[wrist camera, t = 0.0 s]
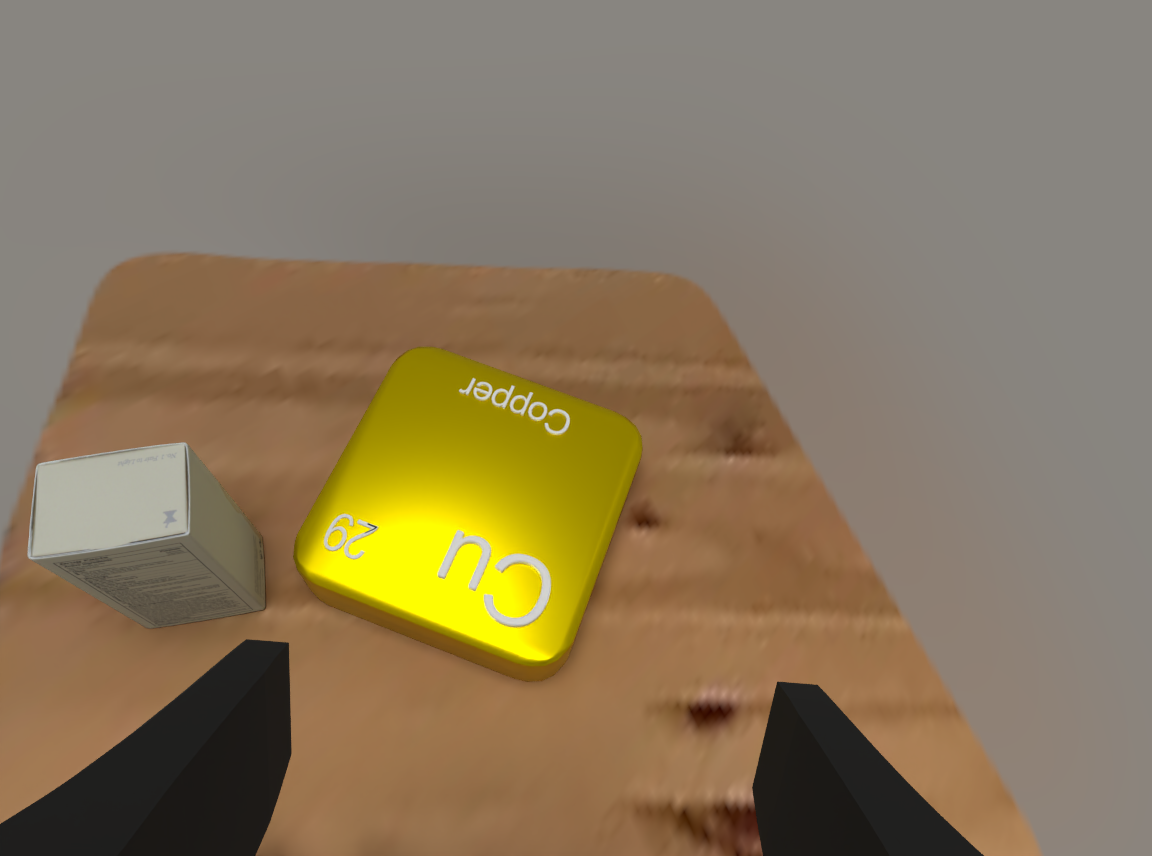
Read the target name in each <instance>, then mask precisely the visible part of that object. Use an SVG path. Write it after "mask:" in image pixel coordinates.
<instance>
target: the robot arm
mask: <svg viewBox="0 0 1152 856" xmlns="http://www.w3.org/2000/svg"><path fill="white" fill-rule="evenodd" d="M290 757H291V716H290V675H289V643H285V642H273V641H260V640H247V639H246V640H245V641H244V642H242V643H241V644H240V645H239V646H237V647H236V648H235V649H234V650H232V651H231V652H230V653H229V654H228V655H226V656H225V657H224V658H223V659H222V660H220V661H219V662H218V663H217V664H216V665H215V666H213V667H212V668H211V669H210V670H209V671H207V672H206V673H205V674H204V675H203V676H202V677H200V678H199V679H198V680H197V681H196V682H194V683H193V684H192V685H191V686H190V687H189V688H187V689H186V690H185V691H184V692H183V693H181V694H180V695H179V696H178V697H177V698H175V699H174V700H173V701H172V702H170V703H169V704H168V705H167V706H165V707H164V708H163V709H162V710H161V711H159V712H158V713H157V714H156V715H154V716H153V717H152V718H151V719H149V720H148V721H147V722H146V723H144V724H143V725H142V726H141V727H139V728H138V729H137V730H136V731H134V732H133V733H132V734H131V735H129V736H128V737H127V738H125V739H124V740H123V741H121V742H120V743H119V744H117V745H116V746H115V747H113V748H112V749H111V750H109V751H108V752H106V753H105V754H104V755H102V756H101V757H100V758H98V759H97V760H96V761H94V762H93V763H91V764H90V765H89V766H87V767H86V768H85V769H83V770H82V771H81V772H79V773H78V774H77V775H75V776H74V777H72V778H71V779H69V780H68V781H67V782H65V783H64V784H62V785H61V786H59V787H58V788H56V789H55V790H53V791H52V792H50V793H49V794H47V795H46V796H44V797H43V798H41V799H40V800H38V801H36V802H35V803H33V804H32V805H30V806H28V807H27V808H25V809H24V810H22V811H20V812H19V813H17V814H16V815H14V816H12V817H11V818H9V819H7V820H6V821H4V822H3V823H1V824H0V856H255V855H256V853H257V850H258V848H259V846H260V844H261V841H262V839H263V837H264V834H265V832H266V830H267V828H268V825H269V823H270V820H271V817H272V814H273V811H274V808H275V805H276V802H277V799H278V796H279V793H280V790H281V786H282V783H283V780H284V777H285V773H286V770H287V767H288V763H289V760H290ZM752 789H753V796H754V803H755V809H756V816H757V823H758V829H759V835H760V841H761V847H762V852H763V856H984V855H983V854H981V853H980V852H979V851H978V850H977V849H976V848H975V847H974V846H973V845H971V844H970V843H969V842H968V841H967V840H966V839H965V838H964V837H963V836H962V835H961V834H960V833H959V832H958V831H957V830H956V829H955V828H953V827H952V826H951V825H950V824H949V823H948V822H947V821H946V820H945V819H944V818H943V817H942V816H941V815H940V814H939V813H938V812H937V811H936V810H935V809H934V808H933V807H932V806H931V805H930V804H929V803H928V802H927V801H926V800H925V799H924V798H923V797H922V796H921V795H920V794H919V793H918V792H917V791H916V790H915V789H914V788H913V787H912V786H911V785H910V784H909V783H908V782H907V781H906V780H905V779H904V778H903V777H902V776H901V775H900V774H899V773H898V772H897V771H896V770H895V769H894V768H893V766H892V765H891V764H890V763H889V762H888V761H887V760H886V759H885V758H884V757H883V756H882V755H881V754H880V753H879V751H878V750H877V749H876V748H875V747H874V746H873V745H872V744H871V743H870V742H869V741H868V739H867V738H866V737H865V736H864V735H863V734H862V733H861V732H860V731H859V730H858V728H857V727H856V726H855V725H854V724H853V723H852V722H851V721H850V720H849V719H848V717H847V716H846V715H845V714H844V713H843V712H842V711H841V710H840V709H839V707H838V706H837V705H836V704H835V703H834V702H833V701H832V700H831V699H830V698H829V696H828V695H827V694H826V693H825V692H824V691H823V690H822V689H821V688H820V687H819V686H818V685H812V684H799V683H787V682H777V685H776V689H775V693H774V698H773V702H772V706H771V710H770V715H769V719H768V723H767V727H766V732H765V736H764V740H763V744H762V749H761V753H760V757H759V761H758V766H757V770H756V774H755V778H754V783H753V787H752Z"/></svg>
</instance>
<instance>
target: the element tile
mask: <svg viewBox="0 0 1152 856" xmlns="http://www.w3.org/2000/svg"><path fill="white" fill-rule="evenodd" d="M642 450H643V448H642V438H641V435H640V433H639V431H638V429H637V427H636V426H635V425H634V424H633V423H632V422H631V421H630V420H628V419H627V418H626V417H624V416H622V415H620V414H619V413H617V412H614V411H612V410H609V409H606V408H603V407H601V406H598V405H595V404H592V403H590V402H587V401H584V400H581V399H579V398H576V397H573V396H570V395H568V394H565V393H562V392H559V391H557V390H554V389H551V388H548V387H546V386H543V385H540V384H537V383H534V382H532V381H529V380H526V379H523V378H521V377H518V376H515V375H512V374H510V373H507V372H504V371H501V370H499V369H496V368H493V367H490V366H488V365H485V364H482V363H479V362H477V361H474V360H471V359H468V358H466V357H463V356H460V355H457V354H455V353H452V352H449V351H446V350H444V349H440V348H435V347H417V348H414V349H411V350H408V351H406V352H405V353H404V354H402V355H401V356H400V357H398V358H397V359H396V361H395V362H394V363H393V364H392V366H391V367H390V369H389V371H388V373H387V375H386V376H385V378H384V380H383V382H382V383H381V385H380V387H379V389H378V391H377V392H376V394H375V396H374V398H373V400H372V401H371V403H370V405H369V407H368V409H367V410H366V412H365V414H364V416H363V418H362V419H361V421H360V423H359V425H358V426H357V428H356V430H355V432H354V434H353V435H352V437H351V439H350V441H349V443H348V444H347V446H346V448H345V450H344V452H343V453H342V455H341V457H340V459H339V460H338V462H337V464H336V466H335V468H334V469H333V471H332V473H331V475H330V477H329V478H328V480H327V482H326V484H325V486H324V487H323V489H322V491H321V493H320V494H319V496H318V498H317V500H316V502H315V503H314V505H313V507H312V509H311V511H310V512H309V514H308V516H307V518H306V520H305V521H304V523H303V525H302V527H301V528H300V530H299V532H298V534H297V537H296V540H295V545H294V555H293V559H294V562H295V565H296V568H297V570H298V572H299V573H300V575H301V576H302V578H303V579H304V581H305V582H306V584H307V585H308V587H309V588H310V590H311V591H312V592H313V593H314V594H315V595H316V596H317V597H318V598H319V599H320V600H321V601H323V602H324V603H326V604H327V605H329V606H332V607H334V608H337V609H339V610H342V611H344V612H347V613H349V614H352V615H354V616H357V617H360V618H362V619H365V620H367V621H370V622H372V623H375V624H377V625H380V626H382V627H385V628H387V629H390V630H392V631H395V632H397V633H400V634H403V635H405V636H408V637H410V638H413V639H415V640H418V641H420V642H423V643H425V644H428V645H430V646H433V647H435V648H438V649H441V650H443V651H446V652H448V653H451V654H453V655H456V656H458V657H461V658H463V659H466V660H468V661H471V662H473V663H476V664H478V665H481V666H484V667H486V668H489V669H491V670H494V671H496V672H499V673H501V674H504V675H506V676H509V677H511V678H514V679H518V680H522V681H527V682H529V681H542V680H545V679H547V678H549V677H551V676H553V675H554V674H555V673H556V672H557V671H558V670H559V669H560V668H561V667H562V666H563V665H564V663H565V662H566V660H567V659H568V656H569V654H570V651H571V648H572V646H573V643H574V640H575V638H576V635H577V632H578V629H579V627H580V624H581V621H582V618H583V616H584V613H585V610H586V607H587V605H588V602H589V599H590V597H591V594H592V591H593V588H594V586H595V583H596V580H597V577H598V575H599V572H600V569H601V566H602V564H603V561H604V558H605V556H606V553H607V550H608V547H609V545H610V542H611V539H612V536H613V534H614V531H615V528H616V525H617V523H618V520H619V517H620V515H621V512H622V509H623V506H624V504H625V501H626V498H627V495H628V493H629V490H630V487H631V484H632V482H633V479H634V476H635V474H636V471H637V468H638V465H639V463H640V460H641V456H642Z"/></svg>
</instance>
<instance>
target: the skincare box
mask: <svg viewBox="0 0 1152 856" xmlns="http://www.w3.org/2000/svg"><path fill="white" fill-rule="evenodd" d="M28 558H29V559H31V560H32V561H34V562H36V563H37V564H39V565H41V566H43V567H44V568H46V569H48V570H49V571H51V572H53V573H55V574H56V575H58V576H60V577H61V578H63V579H65V580H66V581H68V582H70V583H71V584H73V585H75V586H76V587H78V588H80V589H82V590H83V591H85V592H87V593H88V594H90V595H92V596H93V597H95V598H97V599H98V600H100V601H102V602H104V603H105V604H107V605H109V606H110V607H112V608H114V609H115V610H117V611H119V612H120V613H122V614H124V615H125V616H127V617H129V618H130V619H132V620H134V621H136V622H137V623H139V624H141V625H142V626H144V627H146V628H158V627H165V626H172V625H178V624H185V623H191V622H197V621H203V620H209V619H215V618H221V617H227V616H233V615H239V614H244V613H249V612H254V611H259V610H263V609H264V608H265V572H264V552H263V540H262V536H261V534H260V533H259V532H258V531H257V529H256V528H255V527H254V526H253V524H252V523H251V522H250V521H249V519H248V518H247V517H246V516H245V514H244V513H243V512H242V511H241V509H240V508H239V507H238V506H237V504H236V503H235V502H234V501H233V499H232V498H231V497H230V496H229V494H228V493H227V492H226V491H225V489H224V488H223V487H222V486H221V484H220V483H219V482H218V481H217V480H216V478H215V477H214V476H213V475H212V473H211V472H210V471H209V470H208V469H207V467H206V466H205V465H204V464H203V462H202V461H201V460H200V459H199V458H198V457H197V455H196V454H195V453H194V451H193V450H192V449H191V448H190V447H189V445H188V444H187V443H175V444H166V445H156V446H149V447H141V448H134V449H127V450H119V451H114V452H107V453H100V454H94V455H87V456H80V457H75V458H68V459H62V460H55V461H50V462H45V463H40V464H38V465H37V467H36V473H35V483H34V491H33V500H32V509H31V520H30V530H29V543H28Z"/></svg>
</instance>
